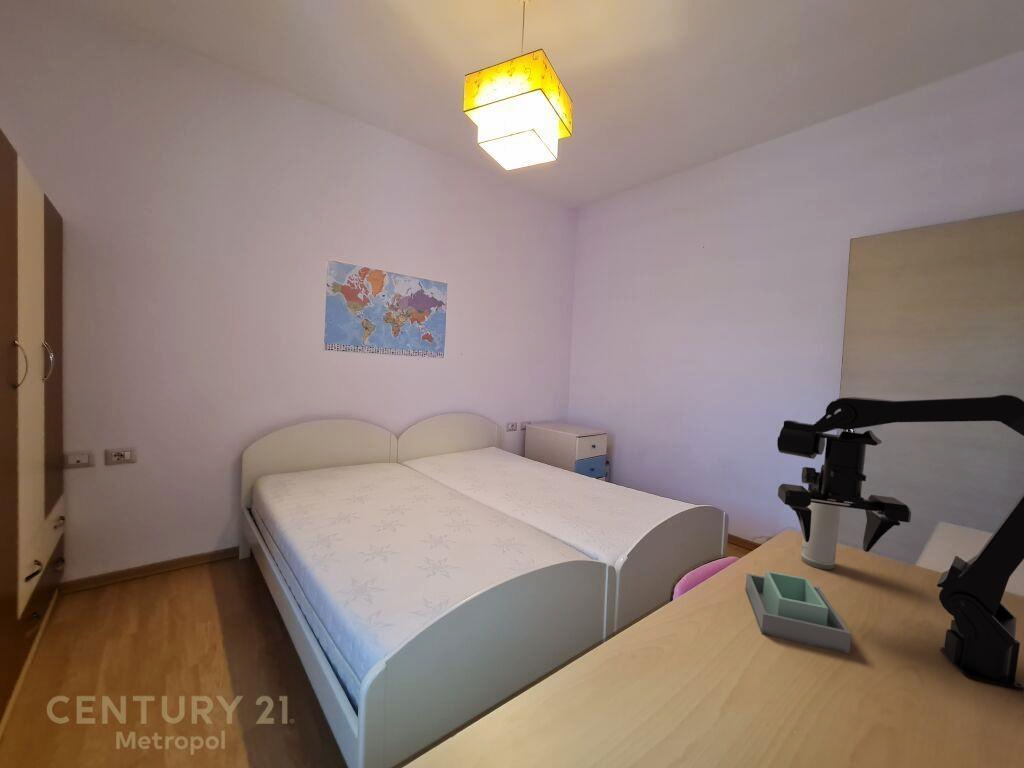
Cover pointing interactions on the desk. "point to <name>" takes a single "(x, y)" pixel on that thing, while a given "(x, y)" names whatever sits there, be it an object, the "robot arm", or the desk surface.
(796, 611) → the small tote
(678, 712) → the desk surface
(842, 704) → the desk surface
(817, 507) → the travel mug
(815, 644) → the tray
